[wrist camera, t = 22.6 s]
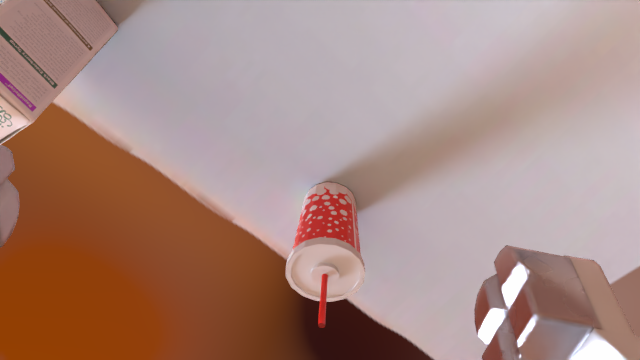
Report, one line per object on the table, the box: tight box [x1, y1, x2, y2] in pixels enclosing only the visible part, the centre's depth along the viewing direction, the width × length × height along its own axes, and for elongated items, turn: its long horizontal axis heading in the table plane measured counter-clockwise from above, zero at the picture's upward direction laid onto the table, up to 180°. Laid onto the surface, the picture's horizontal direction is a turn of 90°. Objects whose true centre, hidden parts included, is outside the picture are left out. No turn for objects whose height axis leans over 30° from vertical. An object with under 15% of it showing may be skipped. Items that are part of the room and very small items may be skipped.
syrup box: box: [0, 0, 118, 144], centre depth 36 cm, size 6×6×14 cm
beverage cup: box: [286, 182, 365, 328], centre depth 45 cm, size 6×6×14 cm
